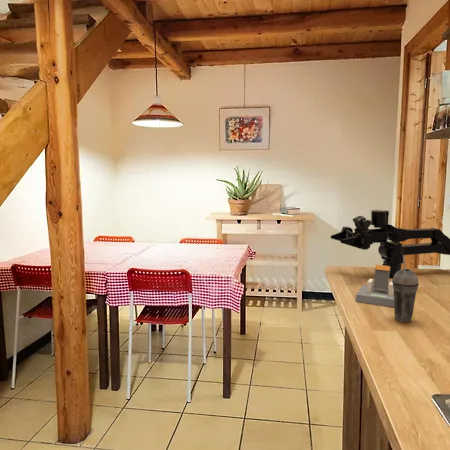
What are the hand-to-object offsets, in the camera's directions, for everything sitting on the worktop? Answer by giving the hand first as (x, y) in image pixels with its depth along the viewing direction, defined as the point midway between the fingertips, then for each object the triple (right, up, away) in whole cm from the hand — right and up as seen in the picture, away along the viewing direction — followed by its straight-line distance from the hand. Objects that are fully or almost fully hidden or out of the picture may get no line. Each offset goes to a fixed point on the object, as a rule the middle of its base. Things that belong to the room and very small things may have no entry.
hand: (335, 239), depth 162 cm
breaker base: (+9, -20, -22) cm, 31 cm away
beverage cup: (+9, -23, -40) cm, 47 cm away
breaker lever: (+9, -16, -23) cm, 29 cm away
